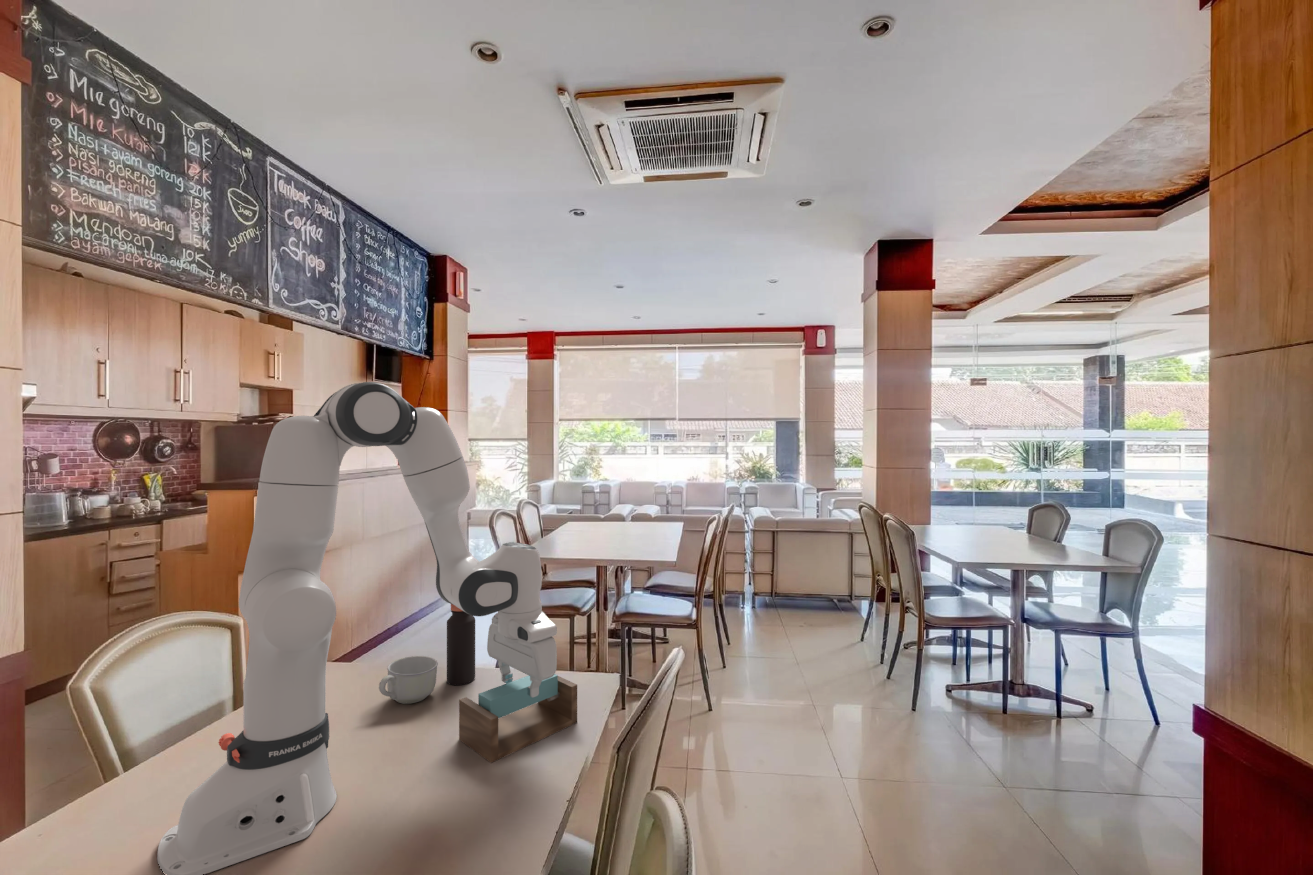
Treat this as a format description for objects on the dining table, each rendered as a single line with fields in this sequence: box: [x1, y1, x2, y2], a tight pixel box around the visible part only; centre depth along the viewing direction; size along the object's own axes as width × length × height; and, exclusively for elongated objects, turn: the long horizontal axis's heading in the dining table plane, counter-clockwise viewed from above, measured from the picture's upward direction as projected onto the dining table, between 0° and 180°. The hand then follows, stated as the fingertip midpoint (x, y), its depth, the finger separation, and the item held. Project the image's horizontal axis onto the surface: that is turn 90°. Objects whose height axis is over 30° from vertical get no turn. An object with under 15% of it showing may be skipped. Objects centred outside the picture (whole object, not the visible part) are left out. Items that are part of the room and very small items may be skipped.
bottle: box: [446, 604, 476, 686], centre depth 140 cm, size 7×7×20 cm
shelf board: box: [477, 673, 559, 719], centre depth 116 cm, size 16×4×4 cm, turn 137°
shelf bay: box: [458, 675, 578, 764], centre depth 116 cm, size 20×12×8 cm, turn 137°
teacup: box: [378, 655, 439, 705], centre depth 129 cm, size 14×11×8 cm
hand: (519, 688), depth 116 cm, fingers open, 8 cm apart
